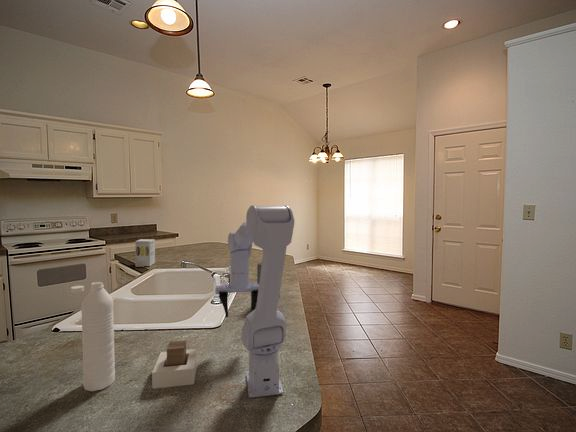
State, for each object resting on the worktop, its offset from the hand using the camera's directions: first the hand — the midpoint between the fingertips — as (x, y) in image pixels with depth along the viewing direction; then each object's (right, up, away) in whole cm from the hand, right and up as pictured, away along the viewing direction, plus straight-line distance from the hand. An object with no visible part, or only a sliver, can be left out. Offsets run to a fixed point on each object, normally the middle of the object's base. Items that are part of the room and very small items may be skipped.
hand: (239, 315), depth 92 cm
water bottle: (-31, -10, -20) cm, 39 cm away
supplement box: (-79, -2, +104) cm, 130 cm away
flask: (+7, -7, +41) cm, 42 cm away
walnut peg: (-14, -10, -15) cm, 23 cm away
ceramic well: (-14, -10, -15) cm, 23 cm away
